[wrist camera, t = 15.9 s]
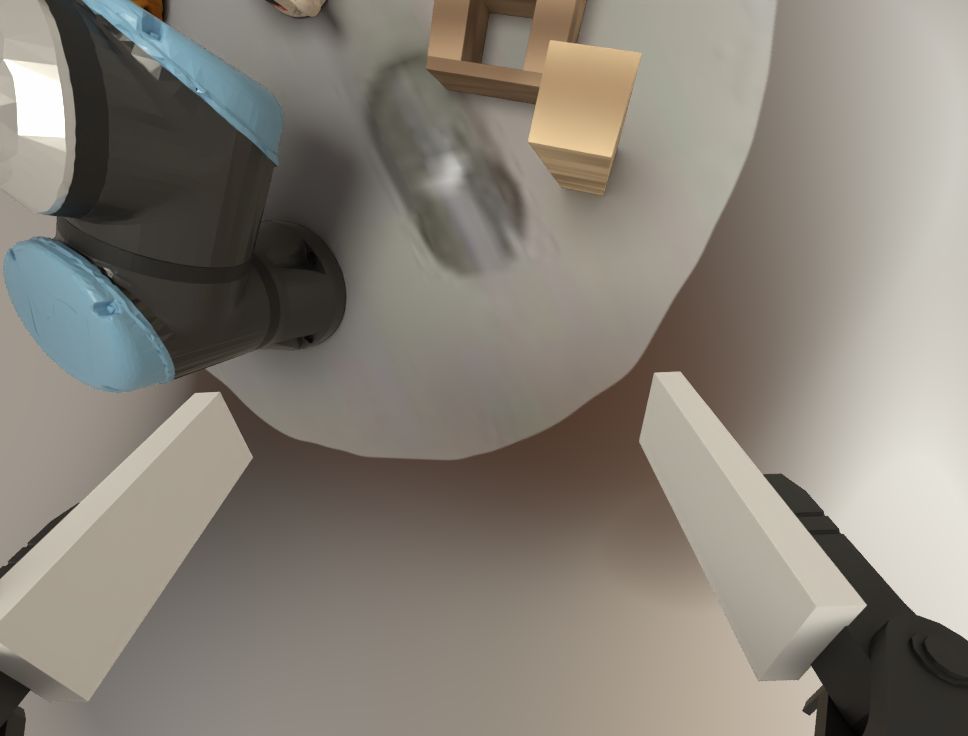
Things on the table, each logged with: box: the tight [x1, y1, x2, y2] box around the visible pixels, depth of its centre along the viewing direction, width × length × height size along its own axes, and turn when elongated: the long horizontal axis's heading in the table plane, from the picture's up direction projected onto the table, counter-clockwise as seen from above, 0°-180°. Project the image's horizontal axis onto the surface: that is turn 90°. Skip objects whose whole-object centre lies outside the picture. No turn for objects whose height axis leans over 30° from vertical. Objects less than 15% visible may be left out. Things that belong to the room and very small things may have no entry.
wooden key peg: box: [528, 40, 642, 196], centre depth 27 cm, size 4×4×20 cm
